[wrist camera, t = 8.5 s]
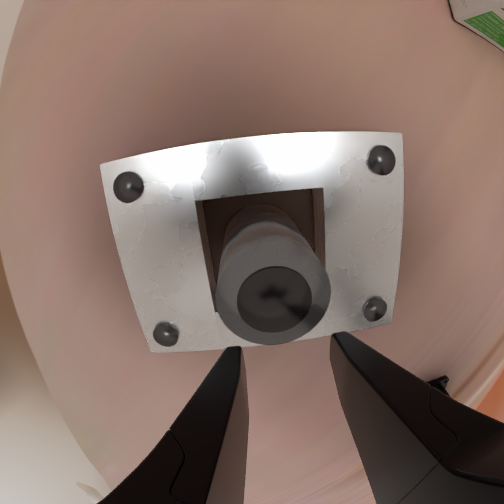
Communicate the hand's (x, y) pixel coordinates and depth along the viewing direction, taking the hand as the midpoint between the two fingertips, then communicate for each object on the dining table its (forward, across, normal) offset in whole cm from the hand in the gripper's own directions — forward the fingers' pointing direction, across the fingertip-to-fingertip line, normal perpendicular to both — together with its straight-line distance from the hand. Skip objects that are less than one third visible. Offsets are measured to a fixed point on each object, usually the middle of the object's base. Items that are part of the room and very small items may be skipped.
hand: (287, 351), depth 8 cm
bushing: (+10, 0, 0) cm, 10 cm away
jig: (+10, 0, 0) cm, 10 cm away
